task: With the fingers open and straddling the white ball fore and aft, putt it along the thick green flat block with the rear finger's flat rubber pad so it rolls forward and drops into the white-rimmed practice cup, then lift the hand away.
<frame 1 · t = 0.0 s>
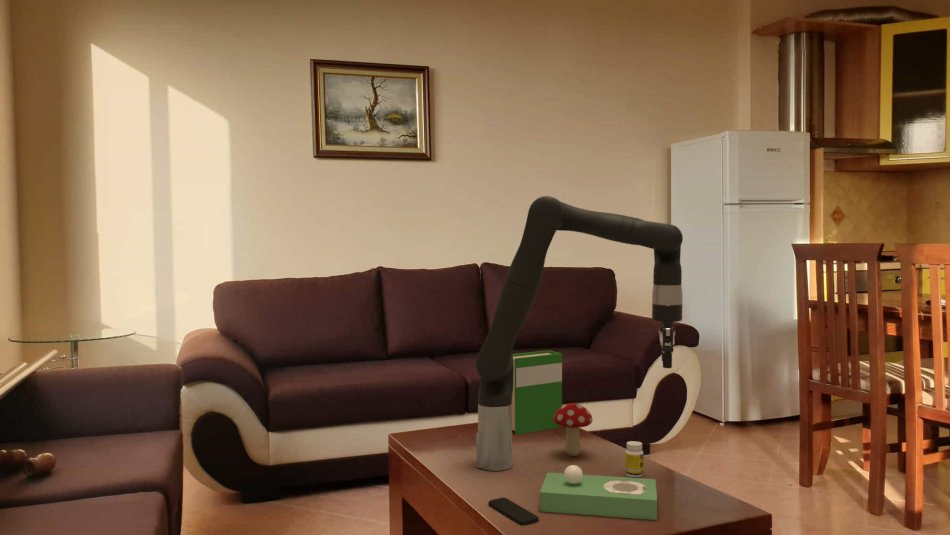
hand: (666, 364, 194), 29 cm above the table, tool pointing down, fingers open, 8 cm apart
remote control: (512, 515, 172), on the table
green flat block: (599, 504, 177), on the table
hardback book: (532, 428, 243), on the table
ball: (573, 474, 178), point 7 cm above the table, touching green flat block
decorative mushroom: (572, 456, 214), on the table
supplement bottle: (634, 475, 198), on the table
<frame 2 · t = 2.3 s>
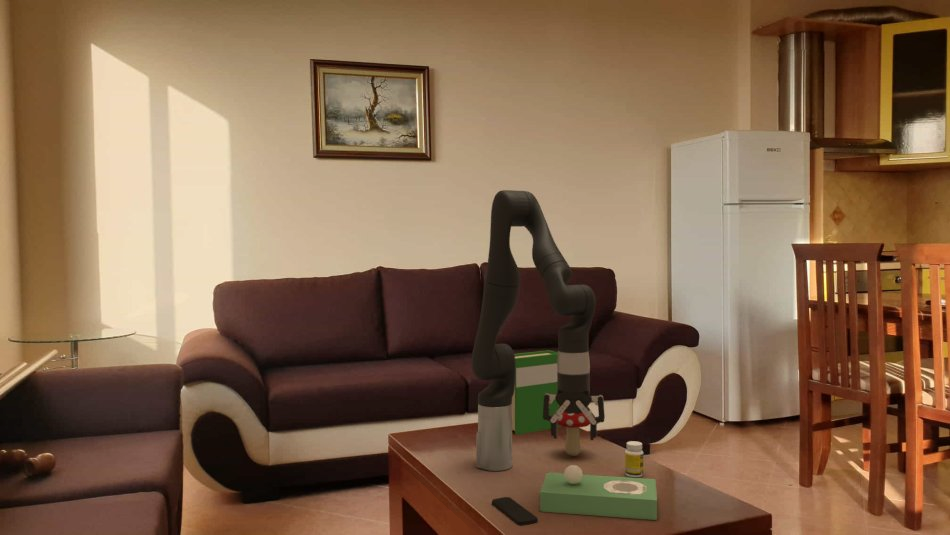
hand: (573, 438, 177), 15 cm above the table, tool pointing down, fingers open, 8 cm apart
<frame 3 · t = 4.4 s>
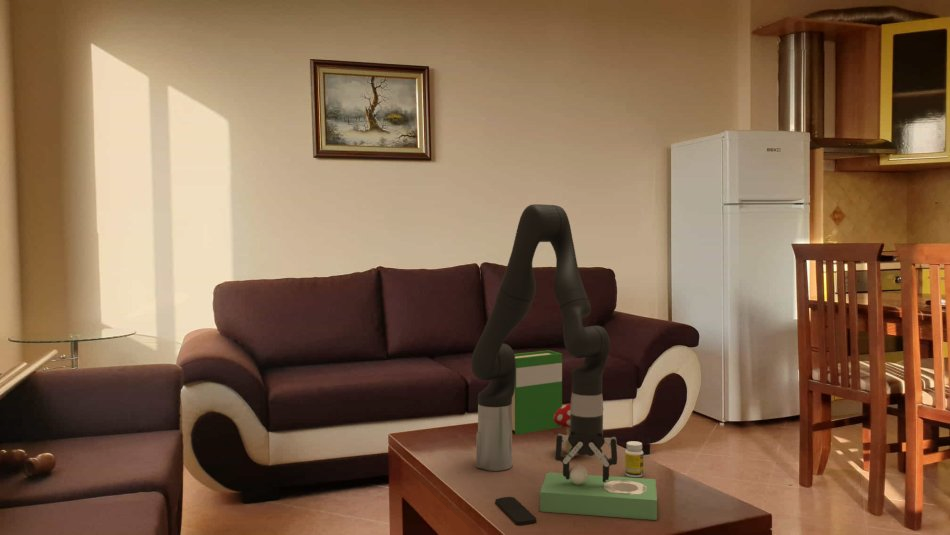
hand: (586, 479, 177), 6 cm above the table, tool pointing down, fingers open, 8 cm apart
ball: (578, 474, 177), point 7 cm above the table, tilted 27°, touching gripper
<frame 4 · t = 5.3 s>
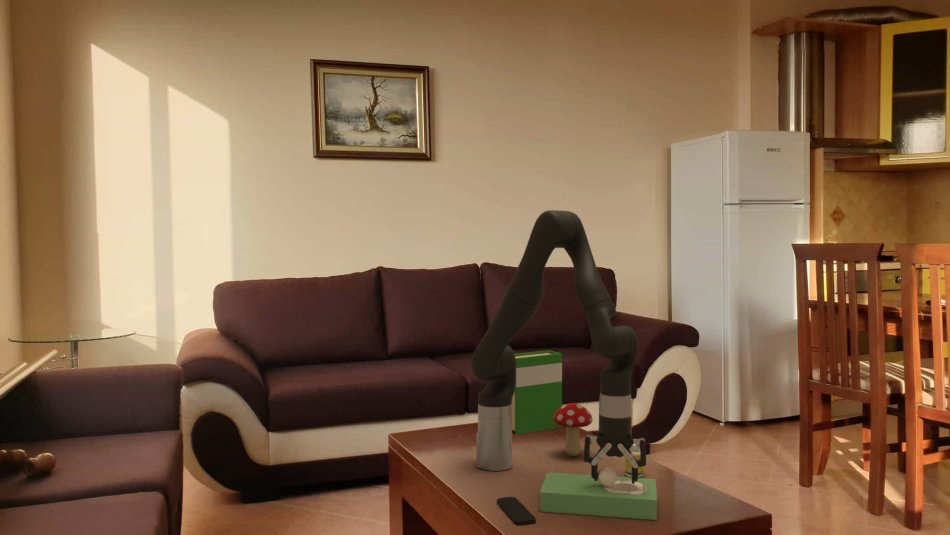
hand: (614, 481, 175), 6 cm above the table, tool pointing down, fingers open, 8 cm apart
ball: (606, 476, 176), point 7 cm above the table, tilted 162°, touching gripper
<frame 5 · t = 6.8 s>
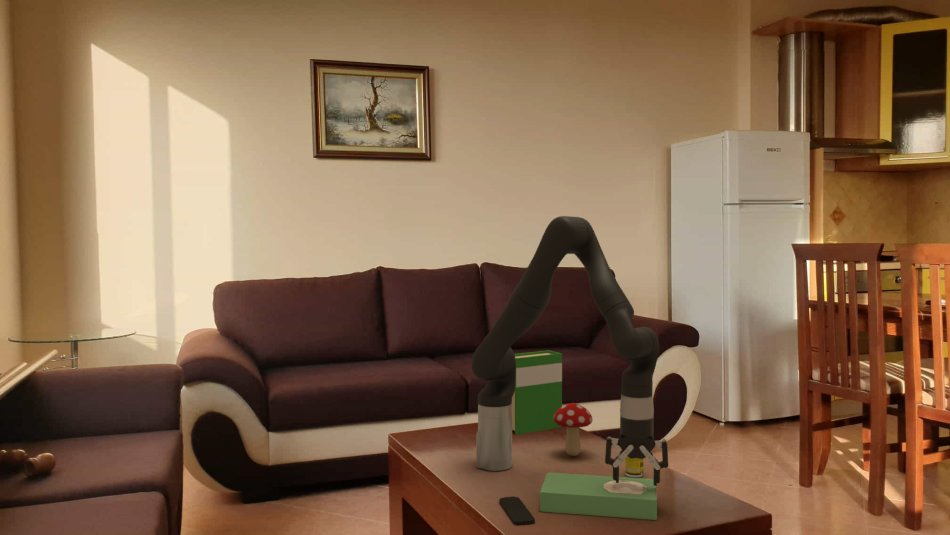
hand: (636, 483, 175), 6 cm above the table, tool pointing down, fingers open, 8 cm apart
ball: (625, 497, 175), point 2 cm above the table, tilted 20°
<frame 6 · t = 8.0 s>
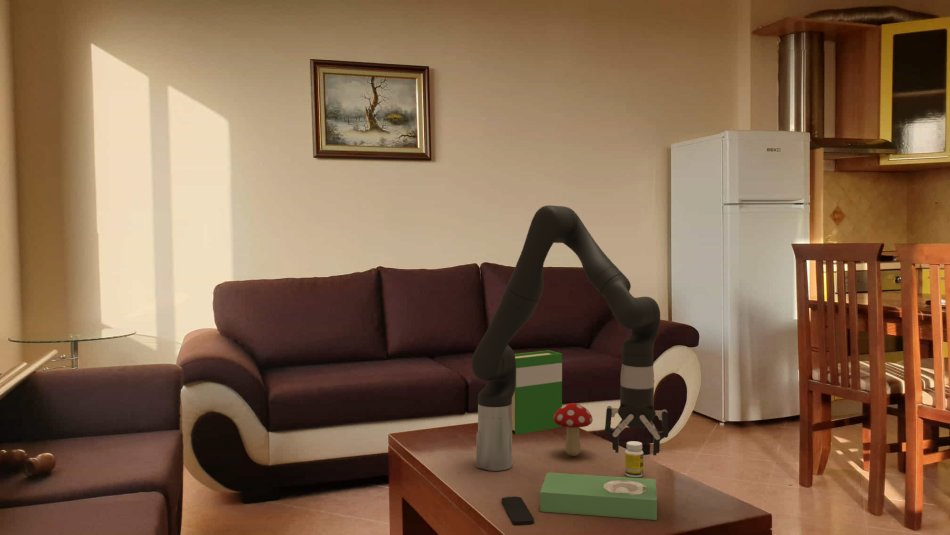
hand: (635, 453, 174), 13 cm above the table, tool pointing down, fingers open, 8 cm apart
ball: (622, 496, 175), point 2 cm above the table, tilted 39°
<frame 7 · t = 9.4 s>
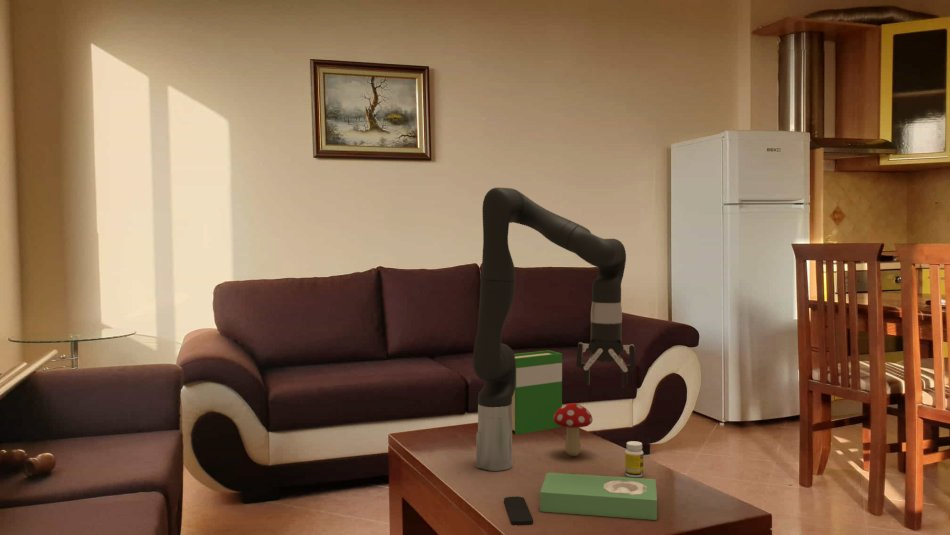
hand: (605, 385, 186), 26 cm above the table, tool pointing down, fingers open, 8 cm apart
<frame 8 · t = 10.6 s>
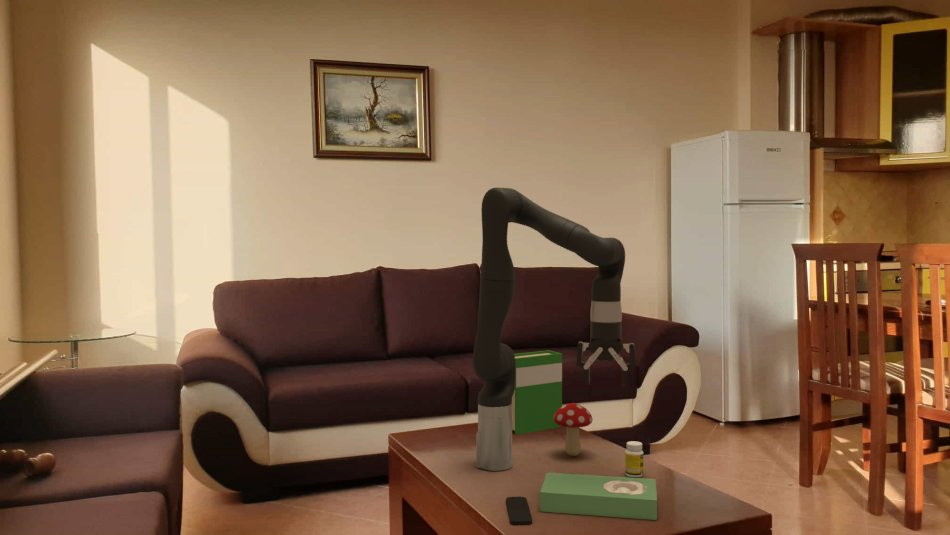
hand: (605, 384, 186), 26 cm above the table, tool pointing down, fingers open, 8 cm apart
at the end: ball 0.4 cm from the target spot in the green flat block, point 2.2 cm above the green flat block's base; ball point 2.2 cm above the table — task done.
